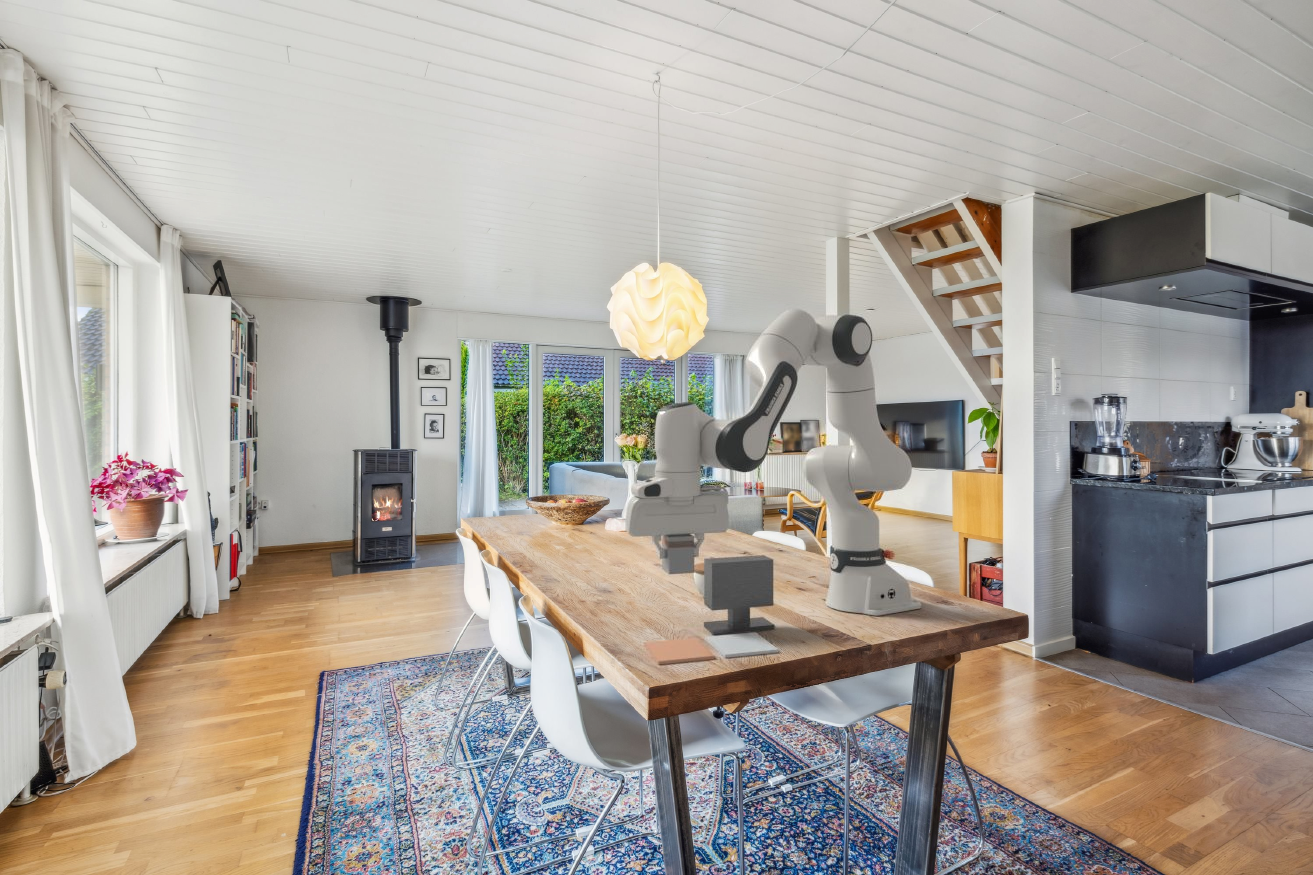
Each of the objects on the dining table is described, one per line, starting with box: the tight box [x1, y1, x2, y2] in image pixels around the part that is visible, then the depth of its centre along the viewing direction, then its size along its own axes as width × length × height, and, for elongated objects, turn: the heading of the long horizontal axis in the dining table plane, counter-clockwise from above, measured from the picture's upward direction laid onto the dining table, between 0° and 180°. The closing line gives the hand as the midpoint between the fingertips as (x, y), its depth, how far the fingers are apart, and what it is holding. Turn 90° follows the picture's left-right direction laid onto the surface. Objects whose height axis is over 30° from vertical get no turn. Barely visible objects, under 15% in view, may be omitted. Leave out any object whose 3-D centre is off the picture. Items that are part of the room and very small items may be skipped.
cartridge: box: [661, 534, 695, 575], centre depth 127 cm, size 5×5×7 cm
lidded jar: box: [693, 562, 704, 598], centre depth 169 cm, size 11×11×9 cm
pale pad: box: [705, 631, 779, 659], centre depth 131 cm, size 11×11×1 cm
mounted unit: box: [703, 554, 775, 636], centre depth 142 cm, size 14×6×15 cm, turn 105°
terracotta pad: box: [643, 637, 716, 665], centre depth 127 cm, size 11×11×1 cm
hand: (678, 557), depth 127 cm, fingers closed on cartridge, 5 cm apart
